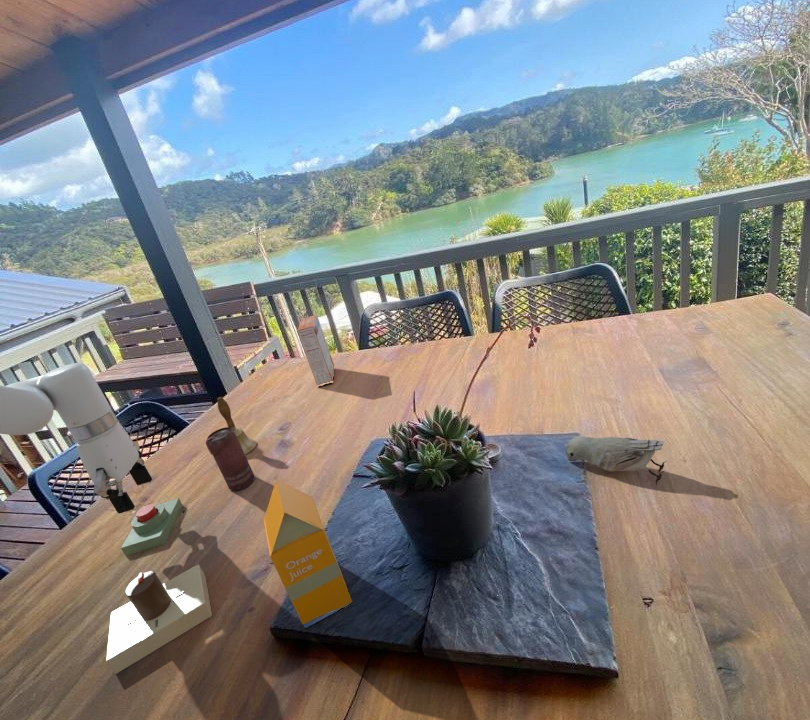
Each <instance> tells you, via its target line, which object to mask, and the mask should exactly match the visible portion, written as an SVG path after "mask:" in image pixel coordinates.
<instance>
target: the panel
mask: <svg viewBox="0 0 810 720" xmlns="http://www.w3.org/2000/svg"><path fill="white" fill-rule="evenodd" d="M162 585H163V586H164V588H165V589H166V591H167V593H168V594H169V596H170V597H171V602H170V605H169V606H168V608H167V609H166V610H165V611H164V612H163V613H162V614H161V615H159V616H158V617H156V618H154V619H152V620H143V619H142V617H141V616H140V614H139V613H138V611H137V610H136V608H135V607H134V605H133V604H132V602H131V601H129V602H127V603H126V604H125V603H124V605H122V606H119V607H118V608H117V609H114V610H113V611H111V612H110V616H109V617H110V618H109V627H108V638H107V645H106V657H105V663H106V664H107V665H108V667H109V668H110V669H111V670H112V671H113V673H114V675H117V674H119V673H120V672H123V670H125V669H128V668H129V667H131V666H132V665H133V664H135V663H137V662H139V661H140V660H142V659H144V658H145V657H147V656H148V655H150V654H152V653H154V652H155V651H157V650H158V649H160V648H162V647H163V646H165V645H167V644H168V643H170V642H171V641H173V640H175V639H177V638H178V637H180V636H182V635H183V634H186V632H188V631H189V630H191V629H193V628H194V627H196V626H198V625H200V624H201V623H203V622H204V621H206V620H208V619H210V618H211V617H213V612H212V607H211V602H210V594H209V589H208V583H207V576H206V574H205V572H204V571H203V569H202V567H201V565H200V564H196V565H194V566H192V567H190V568H189V569H187V570H185V571H183V572H182V573H180V574H177V575H176V576H174V577H172V578H170V579H168V580H167V581H165V582H163V583H162Z"/></svg>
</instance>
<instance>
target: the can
mask: <svg viewBox="0 0 810 720" xmlns="http://www.w3.org/2000/svg"><path fill="white" fill-rule="evenodd" d="M205 445H206V447H207V450H208V451H209V453H210V454H211V455H212V457H213V459H214V461H215V463H216V465H217V467H218V470H219V471H220V473H221V475H222V477H223V479H224V481H225V484H226V485H227V488H228V489H229V491H232V492H239V491H240V492H241V491H242V490H244V489H247V488H249V486H252V484H253V483H254V481H255V474H254V471H253V469H252V467H251V465H250V463H249V461H248V458H247V456H246V455H245V454H244V451H243V449H242V447H241V445H240V443H239V441H238V438H237V436H236V434H235V432H234V430H232V429H231V428H230V427H228V426H225V427H222V428H219V429H216V430H214V431H212V432H211V433H210V434H209V435H208V436H207V437H206V440H205Z"/></svg>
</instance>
